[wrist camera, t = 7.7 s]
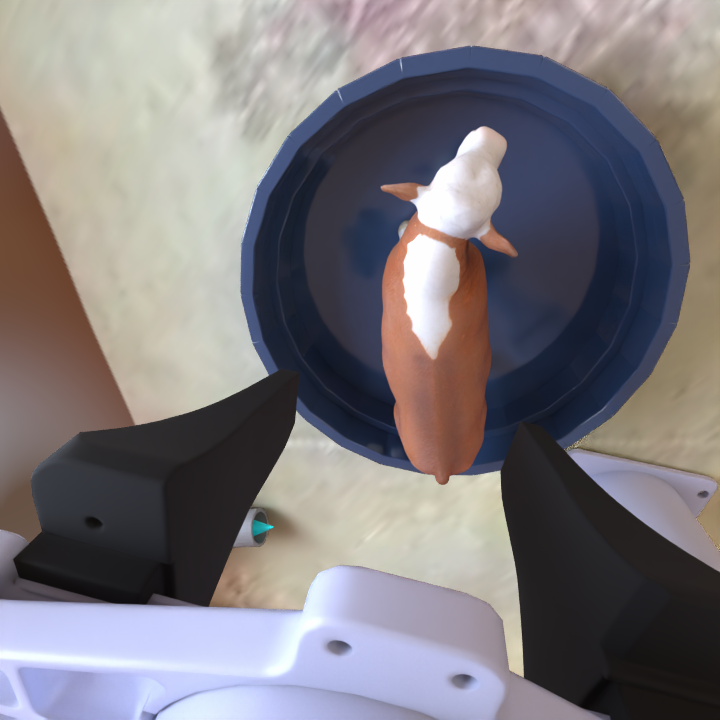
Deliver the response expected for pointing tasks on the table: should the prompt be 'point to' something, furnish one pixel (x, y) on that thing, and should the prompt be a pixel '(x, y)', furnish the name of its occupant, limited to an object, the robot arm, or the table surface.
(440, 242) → the bull figurine
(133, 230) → the table surface
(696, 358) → the table surface
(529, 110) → the bowl
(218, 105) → the table surface
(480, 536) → the table surface
